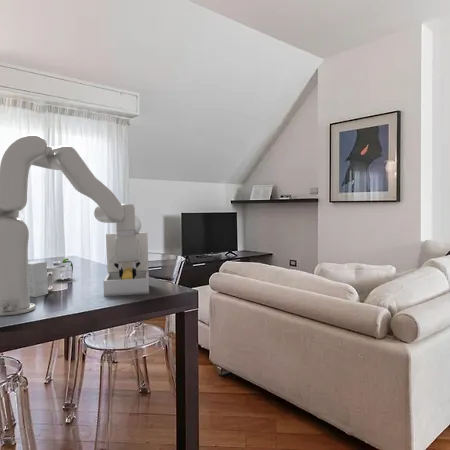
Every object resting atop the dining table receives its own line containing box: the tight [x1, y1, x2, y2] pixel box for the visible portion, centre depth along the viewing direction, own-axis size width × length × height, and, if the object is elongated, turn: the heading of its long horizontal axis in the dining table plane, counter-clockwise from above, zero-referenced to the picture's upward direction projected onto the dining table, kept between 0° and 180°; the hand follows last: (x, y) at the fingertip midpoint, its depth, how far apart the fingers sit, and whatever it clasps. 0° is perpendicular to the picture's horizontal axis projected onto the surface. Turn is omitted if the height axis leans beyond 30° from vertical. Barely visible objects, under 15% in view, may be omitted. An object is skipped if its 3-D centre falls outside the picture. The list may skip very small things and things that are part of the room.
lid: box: [105, 231, 149, 274], centre depth 167 cm, size 18×17×2 cm
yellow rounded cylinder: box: [122, 268, 133, 279], centre depth 159 cm, size 12×4×4 cm, turn 11°
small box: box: [28, 260, 49, 298], centre depth 154 cm, size 8×6×13 cm
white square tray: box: [103, 270, 150, 297], centre depth 159 cm, size 17×17×6 cm
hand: (127, 278), depth 159 cm, fingers closed on yellow rounded cylinder, 3 cm apart
